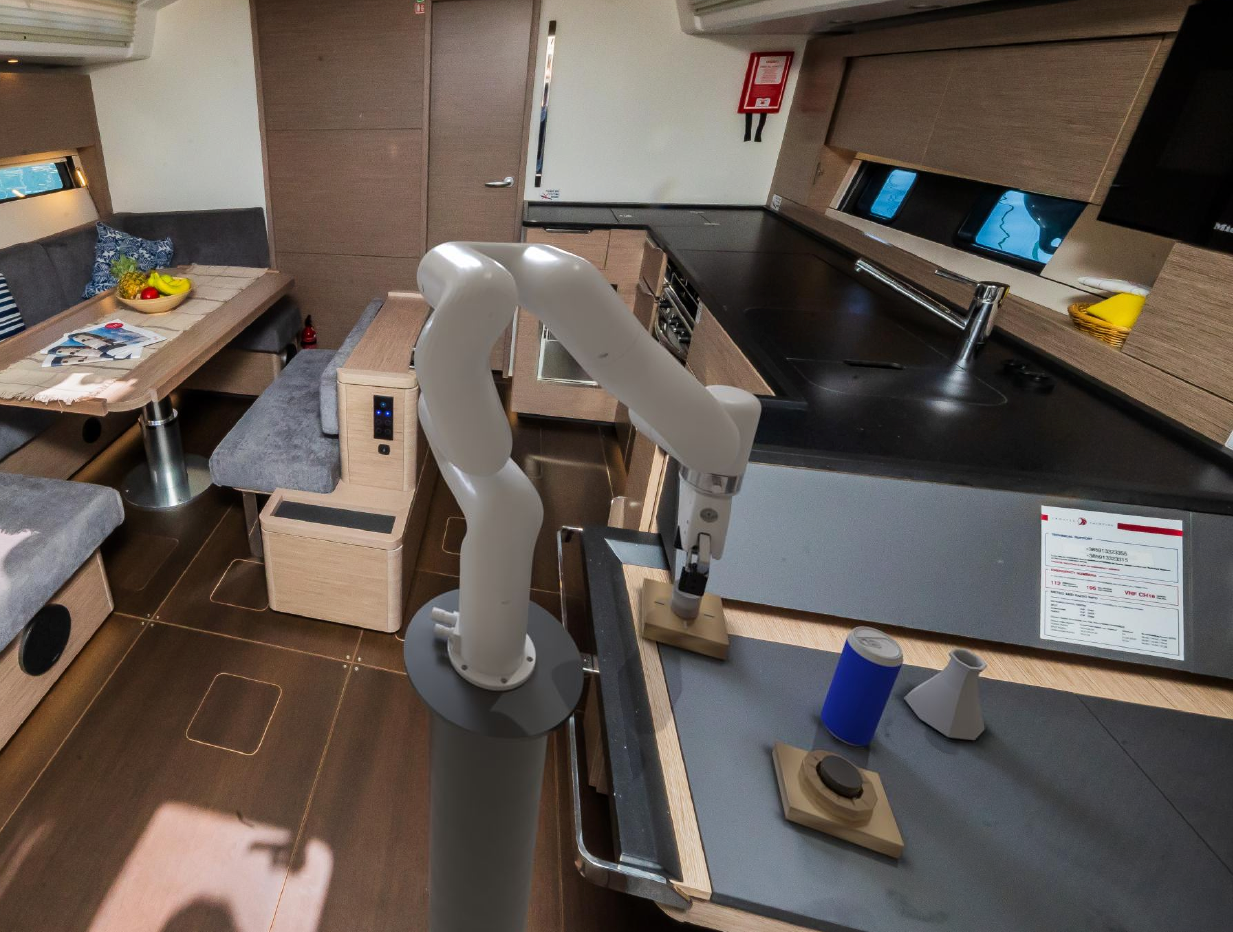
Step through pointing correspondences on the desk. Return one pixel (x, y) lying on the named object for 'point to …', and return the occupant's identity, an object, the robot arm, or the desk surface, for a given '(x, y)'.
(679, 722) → the desk surface
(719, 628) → the knob panel
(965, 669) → the flask
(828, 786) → the button
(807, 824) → the button block
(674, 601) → the knob
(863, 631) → the beverage can
